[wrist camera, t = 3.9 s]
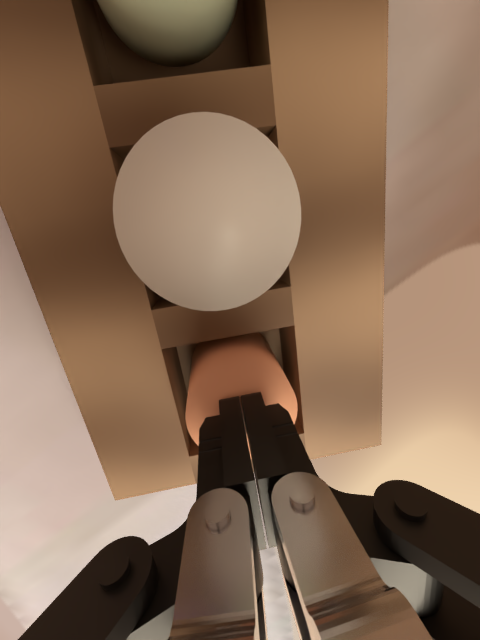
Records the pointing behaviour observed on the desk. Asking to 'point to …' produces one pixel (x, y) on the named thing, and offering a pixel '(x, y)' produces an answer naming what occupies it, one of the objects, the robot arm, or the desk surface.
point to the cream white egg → (207, 211)
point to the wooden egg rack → (109, 261)
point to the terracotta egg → (234, 378)
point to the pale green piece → (170, 27)
